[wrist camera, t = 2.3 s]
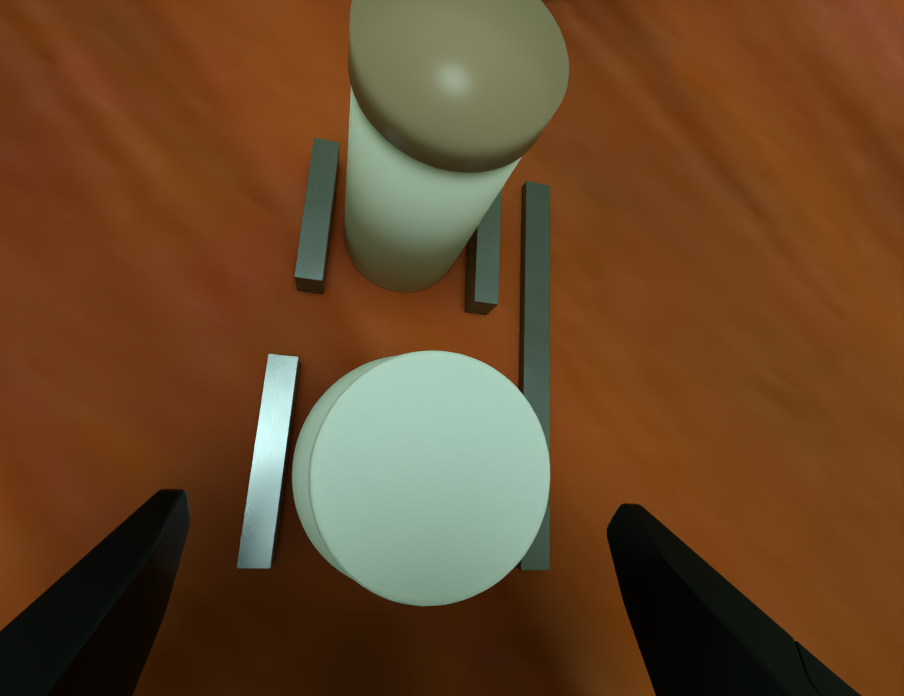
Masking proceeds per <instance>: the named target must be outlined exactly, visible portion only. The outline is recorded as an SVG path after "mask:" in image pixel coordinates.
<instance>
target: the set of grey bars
mask: <svg viewBox="0 0 904 696" xmlns="http://www.w3.org/2000/svg"><path fill="white" fill-rule="evenodd" d="M339 144H340V143H338V142H333V141H328V140H323V139H318V138H314V142H313V149H312V156H311V163H310V170H309V178H308V185H307V192H306V199H305V206H304V213H303V220H302V227H301V234H300V241H299V249H298V256H297V263H296V270H295V282H296V286H297V290H298V291H306V292H314V293H321V294H323V290H324V282H325V274H326V266H327V258H328V250H329V242H330V233H331V225H332V217H333V209H334V201H335V193H336V185H337V177H338V169H339ZM500 215H501V190H500V192H499V193H498V195H497V196H496V198H495V200H494V201H493V203H492V204H491V206H490V207H489V209H488V211H487V212H486V214H485V215H484V217H483V218H482V220H481V222H480V223H479V225H478V226H477V228H476V229H475V231H474V233H473V234H472V236H471V237H470V239H469V240H468V251H467V273H466V294H465V312H469V313H477V314H485V315H487V314H488V313H489V312H490V311H491V310H492V309H493V308H494V307H496V306H497V305H498V286H499V251H500ZM300 367H301V364H300V361H299V358H298V357H294V356H284V355H274V354H268V361H267V368H266V375H265V381H264V388H263V395H262V401H261V408H260V415H259V422H258V428H257V435H256V442H255V448H254V455H253V462H252V469H251V475H250V482H249V489H248V495H247V502H246V509H245V516H244V522H243V529H242V536H241V542H240V549H239V556H238V563H237V568H270V567H271V565H272V564H273V562H274V560H275V557H276V550H277V542H278V534H279V527H280V519H281V512H282V504H283V496H284V489H285V481H286V473H287V466H288V458H289V451H290V443H291V435H292V428H293V420H294V412H295V405H296V397H297V390H298V382H299V374H300ZM506 378H507V379H508V377H506ZM519 391H520V392H521V393H522V394H523V395H524V397H525V398H526V399H527V401H528V402H529V404H530V405H531V407H532V409H533V411H534V412H535V414H536V416H537V418H538V420H539V422H540V425H541V427H542V430H543V433H544V435H545V439H546V444H547V448H548V453H549V461H550V186H548V185H543V184H538V183H533V182H528V181H526V183H525V184H524V185H523V187H522V244H521V307H520V370H519ZM516 567H517V568H519V569H520V570H550V486H549V496H548V502H547V507H546V511H545V514H544V517H543V520H542V523H541V526H540V528H539V531H538V533H537V535H536V537H535V539H534V541H533V543H532V544H531V546H530V548H529V549H528V551H527V552H526V554H525V555H524V557H523V558H522V559H521V560H520V561H519V563H518V564H517V565H516Z"/></svg>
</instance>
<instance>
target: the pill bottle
mask: <svg viewBox="0 0 904 696" xmlns="http://www.w3.org/2000/svg"><path fill="white" fill-rule="evenodd" d="M549 486H550V461H549V453H548V448H547V444H546V439H545V435H544V433H543V430H542V427H541V425H540V422H539V420H538V418H537V416H536V414H535V412H534V411H533V409H532V407H531V405H530V404H529V402H528V401H527V399H526V398H525V397H524V395H523V394H522V393H521V392H520V391H519V389H518V388H517V387H516V386H515V385H514V384H513V383H512V382H511V381H510V380H509V379H507V378H506V377H505V376H504V375H502V374H501V373H500V372H498V371H497V370H496V369H494V368H492V367H490V366H489V365H487V364H485V363H483V362H481V361H479V360H477V359H474V358H471V357H468V356H465V355H462V354H458V353H452V352H446V351H419V352H411V353H407V354H402V355H399V356H391V357H386V358H381V359H378V360H374V361H372V362H369V363H366V364H364V365H362V366H360V367H358V368H356V369H354V370H352V371H351V372H349V373H348V374H346V375H345V376H343V377H342V378H340V379H339V380H338V381H337V382H335V383H334V384H333V385H332V386H331V387H330V388H329V389H328V390H327V391H326V392H325V393H324V394H323V395H322V396H321V398H320V399H319V400H318V401H317V403H316V404H315V405H314V406H313V408H312V410H311V411H310V413H309V415H308V417H307V418H306V420H305V422H304V424H303V427H302V429H301V431H300V434H299V437H298V440H297V443H296V447H295V452H294V457H293V466H292V489H293V495H294V501H295V506H296V509H297V513H298V516H299V518H300V521H301V523H302V526H303V528H304V530H305V532H306V534H307V536H308V537H309V539H310V541H311V542H312V544H313V545H314V547H315V548H316V549H317V550H318V552H319V553H320V554H321V555H322V556H323V557H324V558H325V559H326V560H327V561H328V562H329V563H330V564H331V565H332V566H333V567H335V568H336V569H337V570H339V571H340V572H341V573H343V574H344V575H346V576H348V577H350V578H351V579H353V580H354V581H356V582H357V583H358V584H360V585H361V586H363V587H364V588H366V589H367V590H369V591H370V592H372V593H374V594H376V595H378V596H381V597H383V598H386V599H388V600H391V601H394V602H398V603H402V604H408V605H416V606H438V605H446V604H452V603H455V602H459V601H462V600H465V599H467V598H471V597H473V596H475V595H477V594H479V593H481V592H483V591H485V590H487V589H489V588H490V587H492V586H493V585H495V584H496V583H498V582H499V581H500V580H501V579H502V578H504V577H505V576H506V575H507V574H508V573H509V572H510V571H511V570H512V569H513V568H514V567H515V566H516V565H517V564H518V563H519V561H520V560H521V559H522V558H523V557H524V555H525V554H526V552H527V551H528V549H529V548H530V546H531V544H532V543H533V541H534V539H535V537H536V535H537V533H538V531H539V528H540V526H541V523H542V520H543V517H544V514H545V511H546V507H547V502H548V496H549Z"/></svg>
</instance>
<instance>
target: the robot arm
mask: <svg viewBox="0 0 904 696" xmlns="http://www.w3.org/2000/svg"><path fill="white" fill-rule="evenodd" d="M189 525H190V514H189V506H188V497H187V493H186V491H185V490H182V489H162V490H159V491H158V492H156V493H155V494H154V495H153V496H152V497H151V498H150V499H148V500H147V501H146V502H145V503H144V504H143V505H142V506H141V507H139V508H138V509H137V510H136V511H135V512H134V513H133V514H132V515H130V516H129V517H128V518H127V519H126V520H125V521H124V522H123V523H121V524H120V525H119V526H118V527H117V528H116V529H115V530H114V531H112V532H111V533H110V534H109V535H108V536H107V537H106V538H105V539H103V540H102V541H101V542H100V543H99V544H98V545H97V546H96V547H94V548H93V549H92V550H91V551H90V552H89V553H88V554H87V555H85V556H84V557H83V558H82V559H81V560H80V561H79V562H78V563H76V564H75V565H74V566H73V567H72V568H71V569H70V570H69V571H67V572H66V573H65V574H64V575H63V576H62V577H61V578H60V579H58V580H57V581H56V582H55V583H54V584H53V585H52V586H51V587H50V588H48V589H47V590H46V591H45V592H44V593H43V594H42V595H41V596H39V597H38V598H37V599H36V600H35V601H34V602H33V603H32V604H30V605H29V606H28V607H27V608H26V609H25V610H24V611H23V612H21V613H20V614H19V615H18V616H17V617H16V618H15V619H14V620H12V621H11V622H10V623H9V624H8V625H7V626H6V627H5V628H3V629H2V630H1V631H0V696H132V695H133V692H134V690H135V687H136V685H137V682H138V680H139V677H140V675H141V672H142V670H143V667H144V665H145V663H146V660H147V658H148V655H149V653H150V650H151V648H152V645H153V643H154V640H155V638H156V635H157V633H158V630H159V628H160V625H161V622H162V620H163V617H164V614H165V611H166V608H167V604H168V601H169V597H170V594H171V590H172V587H173V583H174V580H175V576H176V573H177V569H178V566H179V562H180V559H181V555H182V552H183V548H184V545H185V541H186V537H187V534H188V530H189ZM607 539H608V543H609V547H610V551H611V555H612V559H613V563H614V567H615V571H616V575H617V579H618V583H619V587H620V591H621V594H622V598H623V602H624V605H625V608H626V611H627V614H628V617H629V620H630V623H631V626H632V629H633V631H634V634H635V637H636V640H637V643H638V646H639V648H640V651H641V654H642V657H643V660H644V663H645V665H646V668H647V671H648V674H649V677H650V680H651V683H652V685H653V688H654V691H655V694H656V696H861V695H860V694H859V693H858V692H856V691H855V690H854V689H853V688H851V687H850V686H849V685H848V684H846V683H845V682H844V681H843V680H842V679H840V678H839V677H838V676H837V675H836V674H835V673H833V672H832V671H831V670H830V669H829V668H828V667H826V666H825V665H824V664H823V663H822V662H820V661H819V660H818V659H817V658H816V657H815V656H813V655H812V654H811V653H810V652H809V651H808V650H807V649H805V648H804V647H803V646H802V645H801V644H800V643H799V642H797V641H794V639H793V637H792V636H790V635H789V634H788V633H787V632H786V631H785V630H783V629H782V628H781V627H780V626H779V625H778V624H777V623H775V622H774V621H773V620H772V619H771V618H770V617H769V616H767V615H766V614H765V613H764V612H763V611H762V610H761V609H759V608H758V607H757V606H756V605H755V604H754V603H752V602H751V601H750V600H749V599H748V598H747V597H746V596H744V595H743V594H742V593H741V592H740V591H739V590H738V589H736V588H735V587H734V586H733V585H732V584H731V583H730V582H728V581H727V580H726V579H725V578H724V577H723V576H721V575H720V574H719V573H718V572H717V571H716V570H715V569H713V568H712V567H711V566H710V565H709V564H708V563H707V562H705V561H704V560H703V559H702V558H701V557H700V556H699V555H697V554H696V553H695V552H694V551H693V550H692V549H691V548H689V547H688V546H687V545H686V544H685V543H684V542H682V541H681V540H680V539H679V538H678V537H677V536H676V535H674V534H673V533H672V532H671V531H670V530H669V529H668V528H666V527H665V526H664V525H663V524H662V523H661V522H660V521H658V520H657V519H656V518H655V517H654V516H653V515H651V514H650V513H649V512H648V511H647V510H646V509H645V508H643V507H642V506H641V505H638V504H626V503H625V504H621V505H620V506H619V507H618V509H617V511H616V512H615V514H614V516H613V517H612V519H611V521H610V522H609V524H608V526H607Z"/></svg>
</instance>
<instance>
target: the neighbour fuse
mask: <svg viewBox="0 0 904 696" xmlns="http://www.w3.org/2000/svg"><path fill="white" fill-rule="evenodd" d="M348 71H349V78H350V83H351V99H350V118H349V137H348V157H347V176H346V195H345V214H344V244H345V248H346V251H347V254H348V256H349V258H350V260H351V262H352V263H353V265H354V266H355V268H356V269H357V270H358V271H359V272H360V273H361V274H362V275H363V276H364V277H365V278H366V279H368V280H369V281H370V282H372V283H374V284H376V285H377V286H380V287H382V288H384V289H388V290H391V291H396V292H415V291H420V290H424V289H426V288H429V287H431V286H433V285H435V284H436V283H437V282H439V281H440V280H441V279H442V278H443V277H444V276H445V275H446V274H447V273H448V272H449V270H450V269H451V267H452V266H453V264H454V262H455V261H456V259H457V258H458V256H459V255H460V253H461V251H462V250H463V248H464V247H465V245H466V244H467V242H468V240H469V239H470V237H471V236H472V234H473V233H474V231H475V229H476V228H477V226H478V225H479V223H480V222H481V220H482V218H483V217H484V215H485V214H486V212H487V211H488V209H489V207H490V206H491V204H492V203H493V201H494V200H495V198H496V196H497V195H498V193H499V192H500V190H501V189H502V187H503V185H504V184H505V182H506V181H507V179H508V178H509V176H510V174H511V173H512V171H513V170H514V168H515V167H516V165H517V163H518V162H519V160H520V159H521V157H522V156H523V155H524V154H525V153H526V152H527V151H529V150H530V148H531V147H532V146H533V145H534V143H535V142H536V141H537V139H538V138H539V136H540V135H541V133H542V132H543V130H544V129H545V127H546V126H547V124H548V122H549V121H550V119H551V118H552V116H553V115H554V113H555V112H556V110H557V109H558V107H559V105H560V103H561V101H562V100H563V97H564V94H565V92H566V89H567V84H568V78H569V61H568V53H567V49H566V45H565V41H564V39H563V36H562V34H561V31H560V29H559V27H558V25H557V23H556V21H555V19H554V18H553V16H552V15H551V13H550V12H549V10H548V9H547V7H546V6H545V5H544V4H543V2H542V1H541V0H352V5H351V11H350V29H349V54H348Z"/></svg>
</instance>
